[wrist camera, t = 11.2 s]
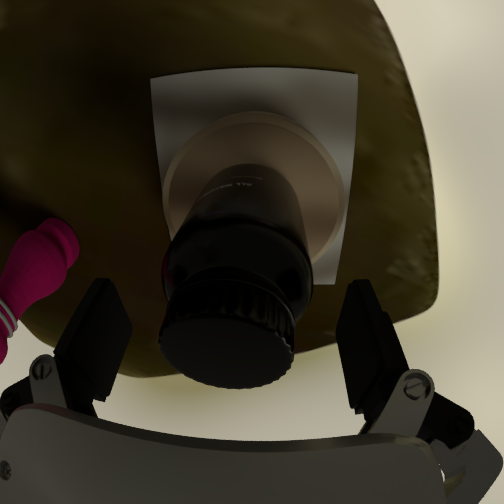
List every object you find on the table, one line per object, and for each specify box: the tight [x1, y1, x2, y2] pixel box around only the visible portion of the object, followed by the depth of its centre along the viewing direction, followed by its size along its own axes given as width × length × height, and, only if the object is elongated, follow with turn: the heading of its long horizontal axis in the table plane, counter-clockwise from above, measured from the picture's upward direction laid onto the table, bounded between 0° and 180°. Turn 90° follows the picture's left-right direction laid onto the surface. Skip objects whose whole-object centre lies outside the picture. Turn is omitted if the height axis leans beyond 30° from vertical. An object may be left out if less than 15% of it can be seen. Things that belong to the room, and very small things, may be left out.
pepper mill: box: [0, 218, 79, 364], centre depth 18 cm, size 7×7×20 cm
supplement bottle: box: [158, 163, 314, 389], centre depth 14 cm, size 7×7×12 cm
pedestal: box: [150, 68, 358, 284], centre depth 21 cm, size 20×16×4 cm
